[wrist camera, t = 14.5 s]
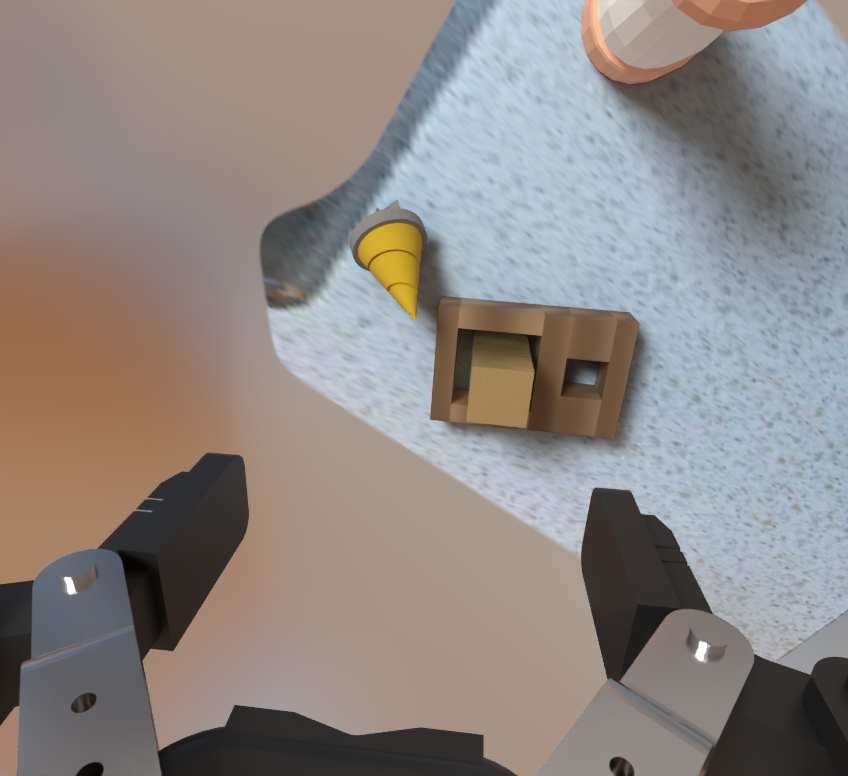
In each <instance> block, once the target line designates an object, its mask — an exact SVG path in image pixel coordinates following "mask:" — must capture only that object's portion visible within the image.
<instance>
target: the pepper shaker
mask: <svg viewBox="0 0 848 776" xmlns="http://www.w3.org/2000/svg"><path fill="white" fill-rule="evenodd" d="M806 1H807V0H586V1H585V5H584V8H583V12H582V39H583V43H584V46H585V50H586V53H587V56H588V57H589V58H590V60H591V61H592V63H593V64H594V66H595V67H596V68H597V70H598V71H600V72H601V73H603V74H604V75H606V76H607V77H608V78H610V79H611V80H614V81H618V82H622V83H626V84H635V83H644V82H649V81H651V80H653V79H656V78H658V77H660V76H662V75H664V74H667V73H669V72H671V71H673V70H675V69H677V68H680V67H682V66H683V65H684V64H685V63H687V62H688V61H689V60H690V59H691V58H692V57H694V56H695V55H696V54H697V53H698V52H700V51H702V50H703V49H704V48H705V47H707V46H708V45H709V44H710V43H711V42H712V41H713V40H715V39H716V38H717V37H718V36H719V35H720V34H721V33H722V32H723V31H724V30H725V31H737V30H745V29H753V28H761V27H763V26H765V25H767V24H769V23H771V22H774V21H776V20H778V19H780V18H782V17H785V16H787V15H789V14H791V13H793V12H794V11H795V10H796V9H798V8H799V7H800V6H801V5H802V4H804V3H805V2H806Z"/></svg>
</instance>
